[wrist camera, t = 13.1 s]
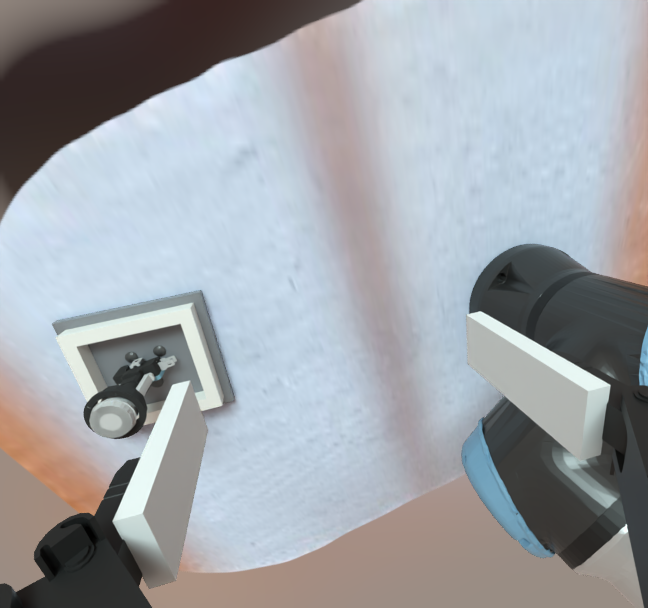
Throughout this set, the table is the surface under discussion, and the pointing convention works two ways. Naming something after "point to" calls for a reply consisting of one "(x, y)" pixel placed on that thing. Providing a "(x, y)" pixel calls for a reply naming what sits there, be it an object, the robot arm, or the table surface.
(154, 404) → the socket plate
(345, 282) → the table surface
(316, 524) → the table surface
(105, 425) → the push button
